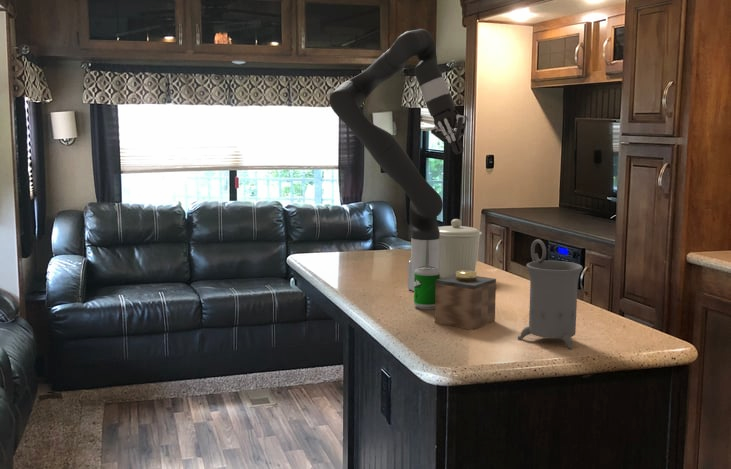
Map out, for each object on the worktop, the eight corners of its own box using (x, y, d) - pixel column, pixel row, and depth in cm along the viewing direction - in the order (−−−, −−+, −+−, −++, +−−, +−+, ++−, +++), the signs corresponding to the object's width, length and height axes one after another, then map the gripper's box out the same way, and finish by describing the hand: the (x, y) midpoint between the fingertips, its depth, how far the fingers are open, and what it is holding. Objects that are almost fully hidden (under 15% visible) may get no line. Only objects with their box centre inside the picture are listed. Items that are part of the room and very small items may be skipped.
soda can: (441, 305, 236) (442, 266, 235) (435, 311, 229) (436, 270, 228) (417, 303, 239) (418, 264, 237) (410, 309, 232) (411, 269, 230)
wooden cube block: (434, 322, 216) (435, 279, 214) (457, 314, 225) (458, 273, 224) (472, 330, 209) (474, 285, 207) (494, 321, 218) (496, 278, 216)
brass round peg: (451, 315, 216) (452, 272, 214) (461, 311, 220) (462, 269, 219) (468, 318, 213) (469, 274, 211) (479, 314, 217) (480, 271, 215)
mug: (596, 347, 194) (601, 246, 190) (546, 352, 188) (550, 250, 185) (552, 328, 211) (556, 236, 207) (504, 333, 206) (507, 239, 202)
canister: (422, 280, 274) (423, 220, 271) (437, 271, 290) (438, 215, 287) (473, 284, 267) (475, 223, 264) (485, 275, 284) (487, 217, 281)
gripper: (413, 107, 226) (435, 163, 227) (445, 91, 216) (468, 149, 217) (429, 101, 231) (451, 156, 232) (461, 85, 221) (484, 143, 222)
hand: (459, 153), depth 224 cm, fingers closed
